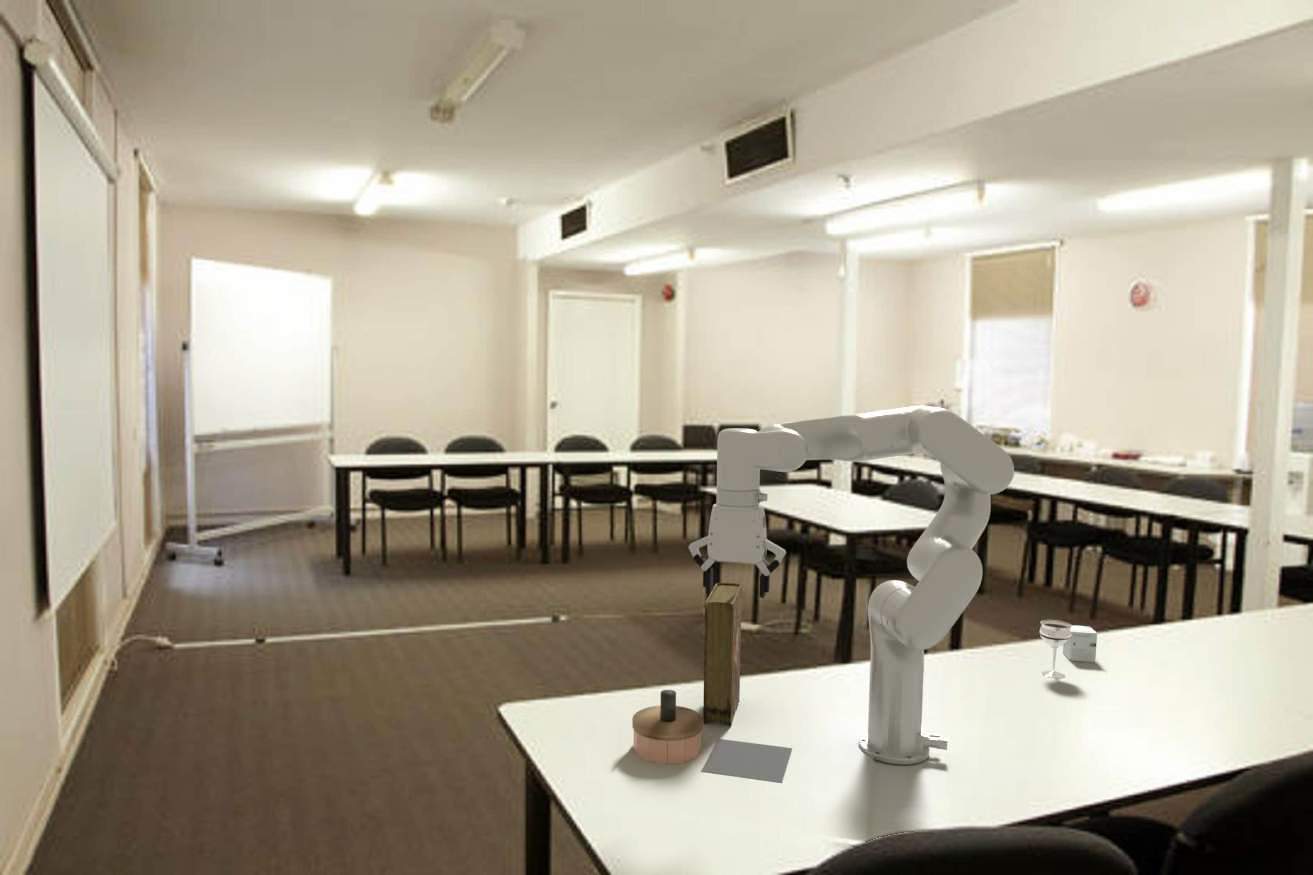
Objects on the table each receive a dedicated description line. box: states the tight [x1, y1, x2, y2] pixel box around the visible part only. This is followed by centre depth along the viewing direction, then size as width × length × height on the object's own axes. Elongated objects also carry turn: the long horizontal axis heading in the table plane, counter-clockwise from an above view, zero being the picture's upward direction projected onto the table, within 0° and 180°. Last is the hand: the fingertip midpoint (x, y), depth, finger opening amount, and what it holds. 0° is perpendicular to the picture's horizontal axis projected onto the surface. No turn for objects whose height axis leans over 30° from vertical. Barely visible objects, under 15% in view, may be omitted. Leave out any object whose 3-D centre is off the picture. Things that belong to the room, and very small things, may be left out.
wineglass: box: [1039, 619, 1072, 679], centre depth 205 cm, size 7×7×12 cm
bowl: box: [633, 729, 702, 765], centre depth 163 cm, size 12×12×5 cm
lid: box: [631, 689, 704, 741], centre depth 162 cm, size 13×13×6 cm
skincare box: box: [1062, 624, 1098, 663], centre depth 218 cm, size 6×6×7 cm
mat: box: [700, 738, 793, 784], centre depth 159 cm, size 14×14×1 cm
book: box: [702, 582, 743, 727], centre depth 180 cm, size 16×6×25 cm, turn 168°
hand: (735, 593), depth 158 cm, fingers open, 9 cm apart
